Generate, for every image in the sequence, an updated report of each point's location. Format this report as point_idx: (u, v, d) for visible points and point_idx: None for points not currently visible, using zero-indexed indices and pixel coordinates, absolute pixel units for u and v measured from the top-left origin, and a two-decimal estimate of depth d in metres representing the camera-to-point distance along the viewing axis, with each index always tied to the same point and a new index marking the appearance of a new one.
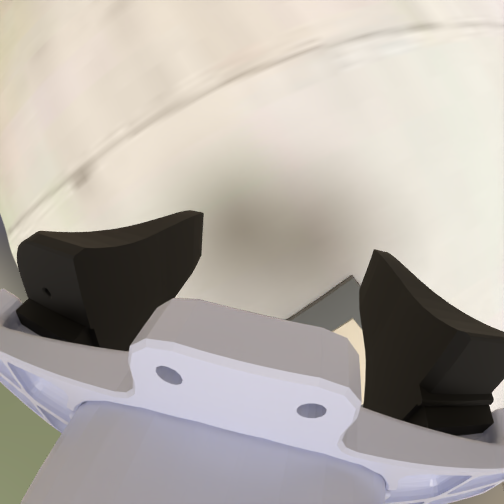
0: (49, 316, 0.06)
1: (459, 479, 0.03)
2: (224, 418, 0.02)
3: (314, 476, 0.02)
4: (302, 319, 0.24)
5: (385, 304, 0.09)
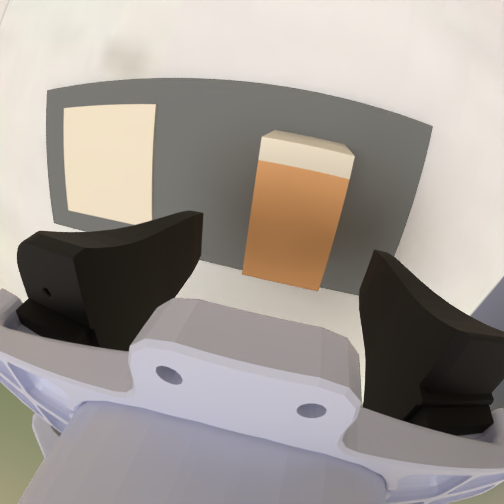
0: (49, 316, 0.06)
1: (459, 479, 0.03)
2: (224, 418, 0.02)
3: (314, 476, 0.02)
4: (49, 143, 0.21)
5: (385, 304, 0.09)
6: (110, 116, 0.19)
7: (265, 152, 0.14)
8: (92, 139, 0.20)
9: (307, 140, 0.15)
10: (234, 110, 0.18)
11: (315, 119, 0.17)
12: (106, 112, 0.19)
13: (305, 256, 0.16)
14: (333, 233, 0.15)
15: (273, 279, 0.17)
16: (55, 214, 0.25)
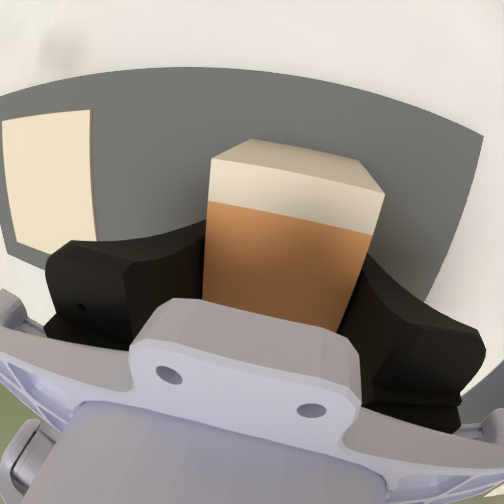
0: (84, 333, 0.06)
1: (459, 479, 0.03)
2: (224, 418, 0.02)
3: (314, 476, 0.02)
4: None
5: (351, 297, 0.09)
6: (44, 129, 0.13)
7: (219, 187, 0.08)
8: (28, 158, 0.14)
9: (299, 158, 0.09)
10: (190, 111, 0.12)
11: (313, 122, 0.11)
12: (39, 124, 0.13)
13: None
14: (339, 319, 0.09)
15: None
16: (7, 244, 0.19)
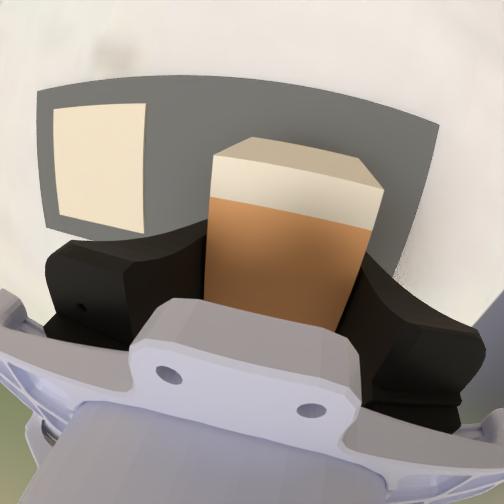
0: (84, 333, 0.06)
1: (459, 479, 0.03)
2: (224, 418, 0.02)
3: (314, 476, 0.02)
4: (39, 146, 0.20)
5: (351, 297, 0.09)
6: (100, 117, 0.18)
7: (221, 183, 0.08)
8: (82, 141, 0.19)
9: (299, 155, 0.09)
10: (228, 108, 0.16)
11: (314, 117, 0.16)
12: (95, 113, 0.18)
13: None
14: (339, 314, 0.09)
15: None
16: (47, 218, 0.24)
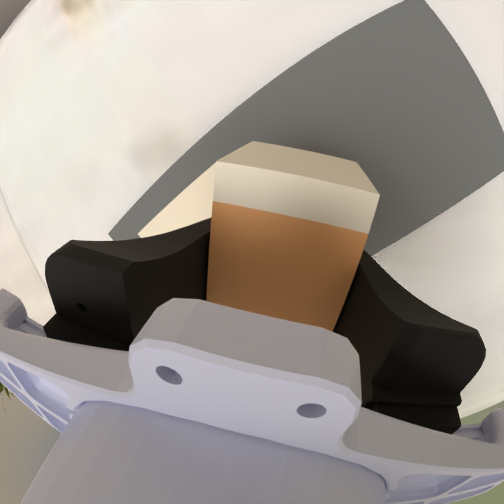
0: (84, 333, 0.06)
1: (459, 479, 0.03)
2: (224, 418, 0.02)
3: (314, 476, 0.02)
4: None
5: (351, 297, 0.09)
6: (188, 203, 0.21)
7: (223, 188, 0.08)
8: None
9: (299, 160, 0.09)
10: (289, 106, 0.17)
11: (352, 60, 0.14)
12: (181, 203, 0.21)
13: None
14: (337, 314, 0.09)
15: None
16: None
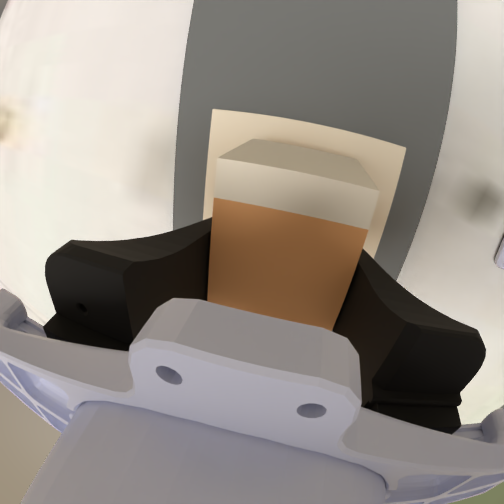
0: (84, 333, 0.06)
1: (459, 479, 0.03)
2: (224, 418, 0.02)
3: (314, 476, 0.02)
4: None
5: (351, 297, 0.09)
6: None
7: (224, 184, 0.08)
8: None
9: (299, 157, 0.10)
10: (229, 8, 0.11)
11: None
12: None
13: None
14: (337, 310, 0.09)
15: None
16: None
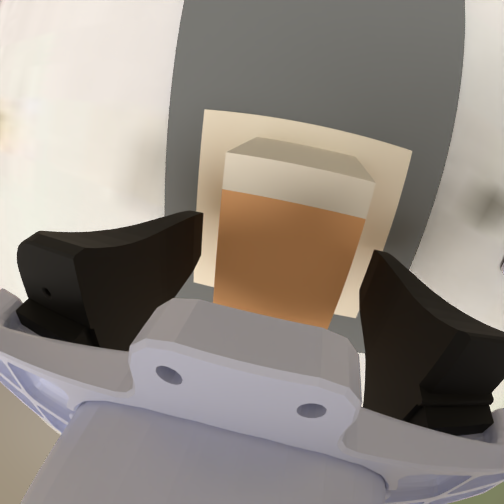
0: (49, 316, 0.06)
1: (459, 479, 0.03)
2: (224, 418, 0.02)
3: (314, 476, 0.02)
4: None
5: (385, 304, 0.09)
6: (215, 192, 0.15)
7: (232, 177, 0.09)
8: None
9: (301, 153, 0.10)
10: (222, 2, 0.10)
11: None
12: (208, 200, 0.15)
13: None
14: (337, 296, 0.10)
15: None
16: (355, 346, 0.18)
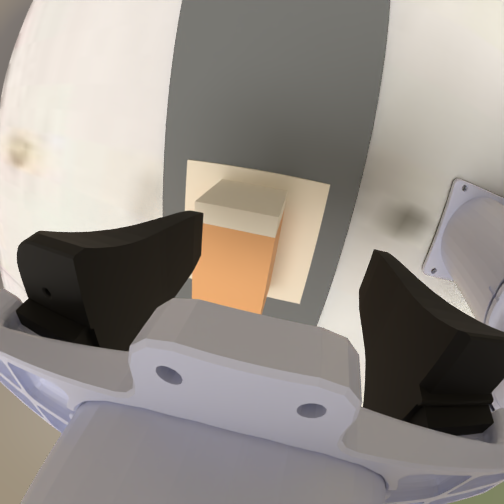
0: (49, 316, 0.06)
1: (459, 479, 0.03)
2: (224, 418, 0.02)
3: (314, 476, 0.02)
4: None
5: (385, 304, 0.09)
6: None
7: None
8: None
9: (243, 196, 0.17)
10: (197, 79, 0.17)
11: (204, 12, 0.14)
12: None
13: (242, 301, 0.18)
14: (265, 283, 0.17)
15: None
16: None
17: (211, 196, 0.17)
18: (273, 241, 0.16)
